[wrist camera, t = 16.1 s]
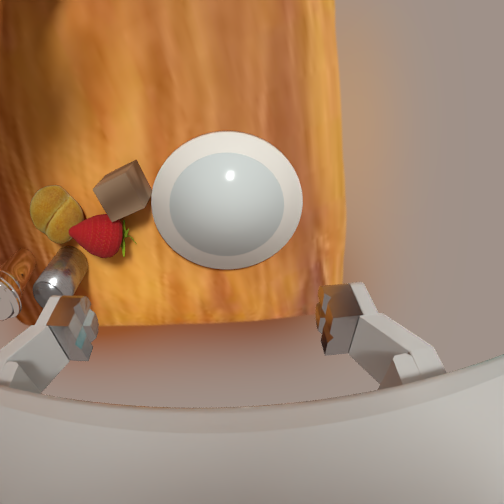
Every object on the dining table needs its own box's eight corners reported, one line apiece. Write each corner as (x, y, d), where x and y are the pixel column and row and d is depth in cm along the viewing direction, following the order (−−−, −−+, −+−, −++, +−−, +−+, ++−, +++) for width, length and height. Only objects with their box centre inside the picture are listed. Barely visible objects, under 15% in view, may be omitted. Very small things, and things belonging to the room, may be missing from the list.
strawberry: (63, 259, 39) (127, 263, 45) (71, 249, 33) (145, 254, 40) (66, 218, 40) (127, 225, 46) (74, 201, 34) (146, 211, 41)
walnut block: (106, 174, 39) (92, 189, 35) (136, 159, 38) (125, 172, 34) (122, 205, 42) (111, 222, 37) (153, 191, 41) (144, 208, 37)
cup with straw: (1, 241, 43) (-59, 319, 26) (36, 234, 43) (-27, 321, 26) (20, 279, 47) (-28, 360, 31) (55, 276, 47) (7, 366, 31)
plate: (143, 138, 37) (140, 140, 35) (303, 128, 37) (306, 131, 36) (165, 267, 48) (164, 273, 47) (297, 260, 48) (298, 266, 47)
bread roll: (51, 172, 37) (38, 184, 34) (94, 212, 42) (85, 227, 38) (26, 209, 39) (14, 222, 36) (66, 245, 44) (57, 260, 41)
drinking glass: (52, 248, 44) (25, 282, 37) (80, 243, 44) (55, 280, 36) (65, 277, 48) (43, 314, 40) (93, 275, 48) (72, 313, 40)
